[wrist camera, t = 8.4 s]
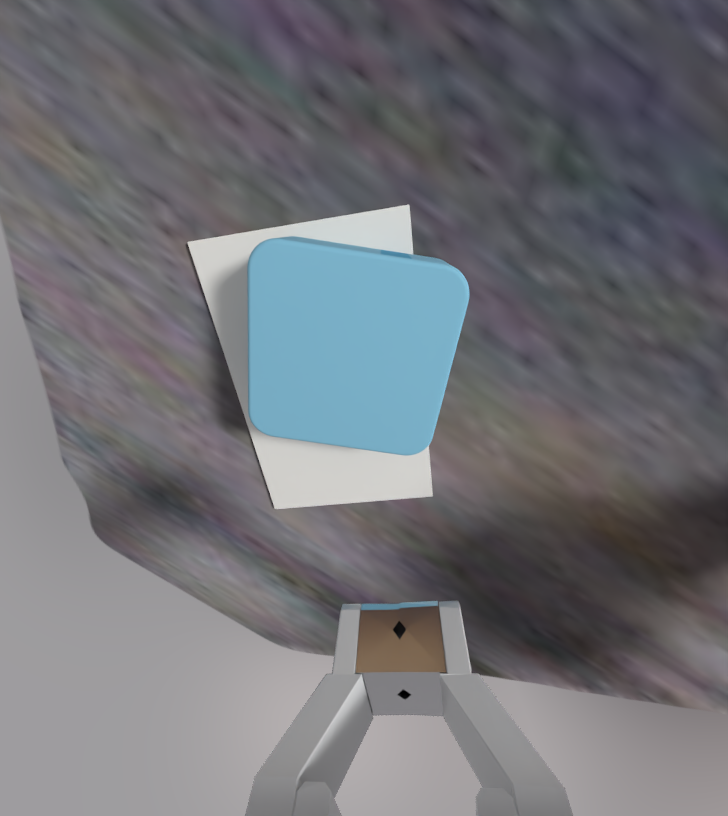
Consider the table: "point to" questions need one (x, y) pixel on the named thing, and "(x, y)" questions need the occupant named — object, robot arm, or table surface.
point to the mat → (228, 303)
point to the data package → (350, 343)
